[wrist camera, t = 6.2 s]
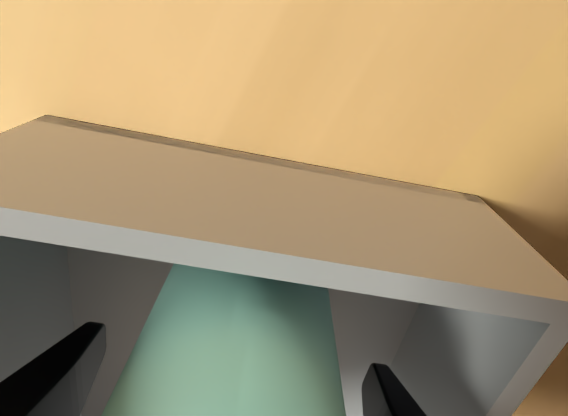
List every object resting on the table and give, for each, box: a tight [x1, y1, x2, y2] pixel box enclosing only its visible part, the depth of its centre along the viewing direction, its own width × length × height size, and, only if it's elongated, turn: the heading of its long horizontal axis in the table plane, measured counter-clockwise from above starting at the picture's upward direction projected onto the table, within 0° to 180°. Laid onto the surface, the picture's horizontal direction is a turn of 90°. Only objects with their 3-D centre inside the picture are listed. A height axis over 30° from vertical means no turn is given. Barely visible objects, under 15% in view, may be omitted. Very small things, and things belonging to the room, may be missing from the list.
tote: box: [0, 115, 568, 416], centre depth 13 cm, size 17×13×5 cm
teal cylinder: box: [101, 263, 346, 416], centre depth 9 cm, size 5×5×7 cm
